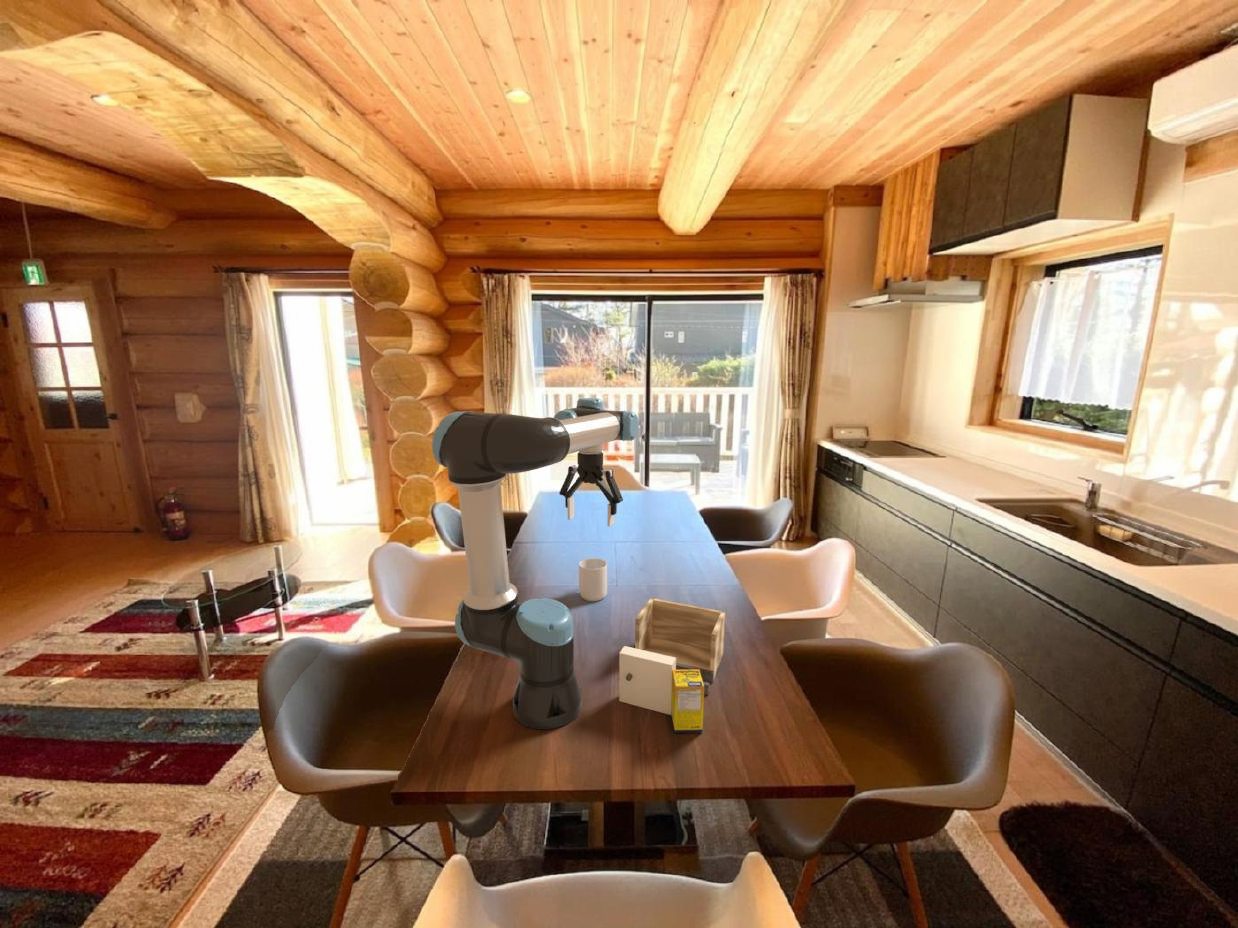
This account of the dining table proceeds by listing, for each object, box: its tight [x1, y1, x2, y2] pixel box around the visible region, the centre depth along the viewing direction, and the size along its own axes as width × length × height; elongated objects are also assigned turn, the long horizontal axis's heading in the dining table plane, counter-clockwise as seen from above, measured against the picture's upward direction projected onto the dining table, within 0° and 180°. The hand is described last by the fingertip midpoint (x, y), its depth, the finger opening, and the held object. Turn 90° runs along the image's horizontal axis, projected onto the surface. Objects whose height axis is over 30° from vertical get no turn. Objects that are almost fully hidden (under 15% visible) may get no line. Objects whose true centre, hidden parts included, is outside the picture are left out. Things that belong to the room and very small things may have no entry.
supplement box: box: [670, 669, 705, 734], centre depth 108 cm, size 6×6×11 cm
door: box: [618, 645, 676, 716], centre depth 113 cm, size 4×12×12 cm, turn 68°
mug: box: [578, 557, 608, 602], centre depth 166 cm, size 12×9×11 cm
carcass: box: [634, 597, 727, 696], centre depth 128 cm, size 18×20×12 cm
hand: (590, 521), depth 155 cm, fingers open, 13 cm apart
